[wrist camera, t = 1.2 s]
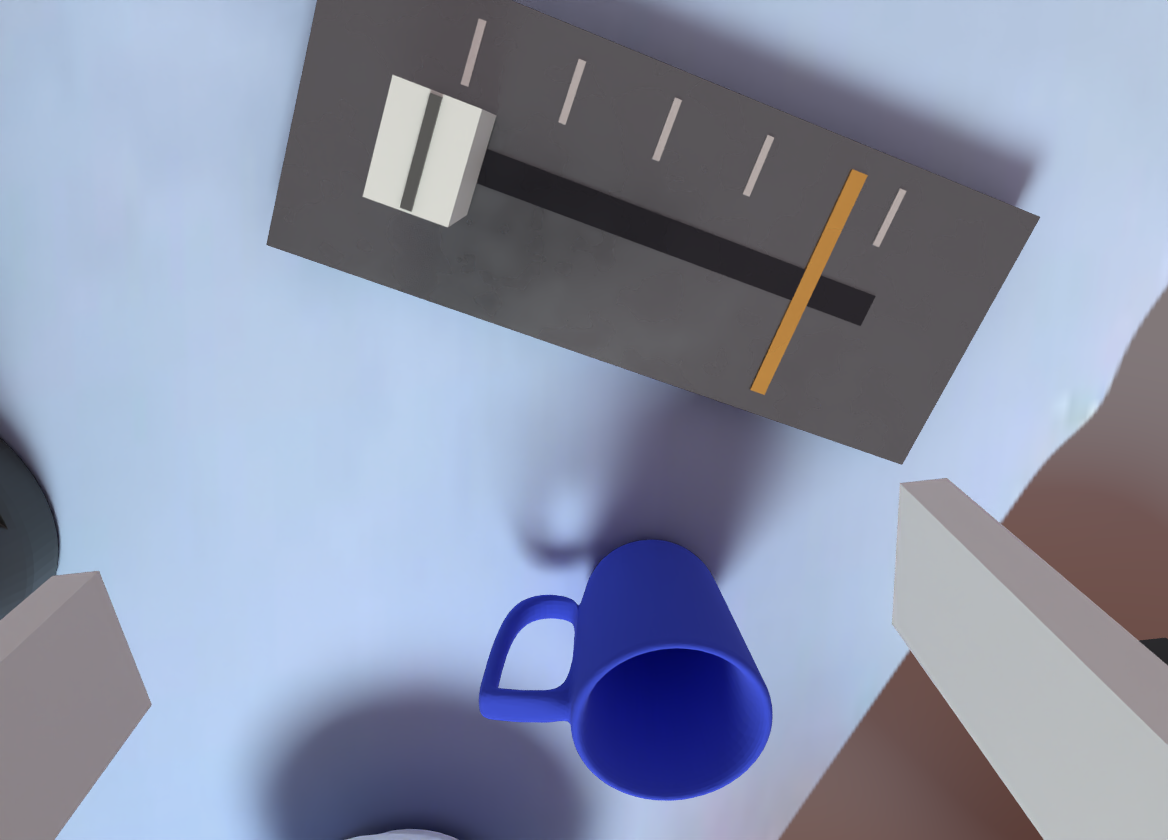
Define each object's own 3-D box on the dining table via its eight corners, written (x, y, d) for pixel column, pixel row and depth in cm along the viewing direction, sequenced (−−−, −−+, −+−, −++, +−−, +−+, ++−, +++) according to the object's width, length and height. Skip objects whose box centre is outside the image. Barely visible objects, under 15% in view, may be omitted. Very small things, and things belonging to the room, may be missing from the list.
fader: (395, 189, 29) (361, 196, 25) (422, 86, 28) (391, 74, 23) (467, 214, 30) (447, 227, 25) (496, 115, 29) (481, 108, 24)
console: (284, 239, 32) (265, 245, 30) (348, -59, 28) (331, -74, 26) (884, 448, 36) (903, 465, 34) (1013, 213, 32) (1041, 217, 30)
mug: (497, 515, 37) (472, 639, 28) (732, 520, 38) (785, 643, 28) (498, 648, 40) (476, 801, 31) (717, 651, 40) (761, 803, 31)
